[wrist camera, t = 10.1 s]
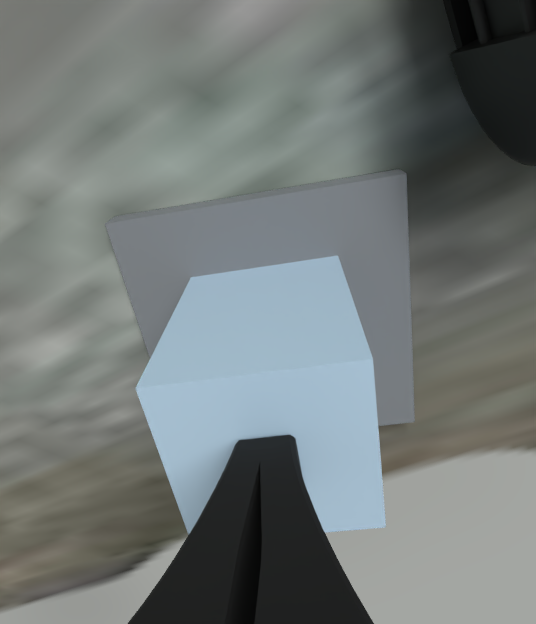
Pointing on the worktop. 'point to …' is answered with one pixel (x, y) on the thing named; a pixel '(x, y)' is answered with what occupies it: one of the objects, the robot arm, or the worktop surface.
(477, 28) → the end cap
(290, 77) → the worktop surface
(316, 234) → the board
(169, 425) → the pale blue cube
